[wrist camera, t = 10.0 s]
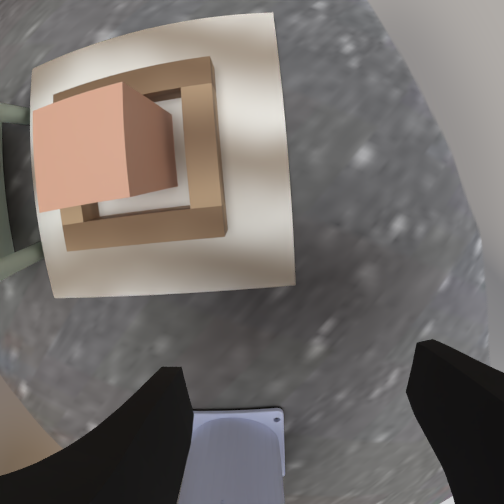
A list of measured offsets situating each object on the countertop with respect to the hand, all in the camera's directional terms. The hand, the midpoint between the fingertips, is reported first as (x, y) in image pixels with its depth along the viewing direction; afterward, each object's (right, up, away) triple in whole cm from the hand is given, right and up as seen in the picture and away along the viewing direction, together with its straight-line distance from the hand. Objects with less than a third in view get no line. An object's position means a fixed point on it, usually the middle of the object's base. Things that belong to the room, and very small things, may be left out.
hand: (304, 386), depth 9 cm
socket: (-8, +9, +8) cm, 15 cm away
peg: (-8, +9, +7) cm, 14 cm away
